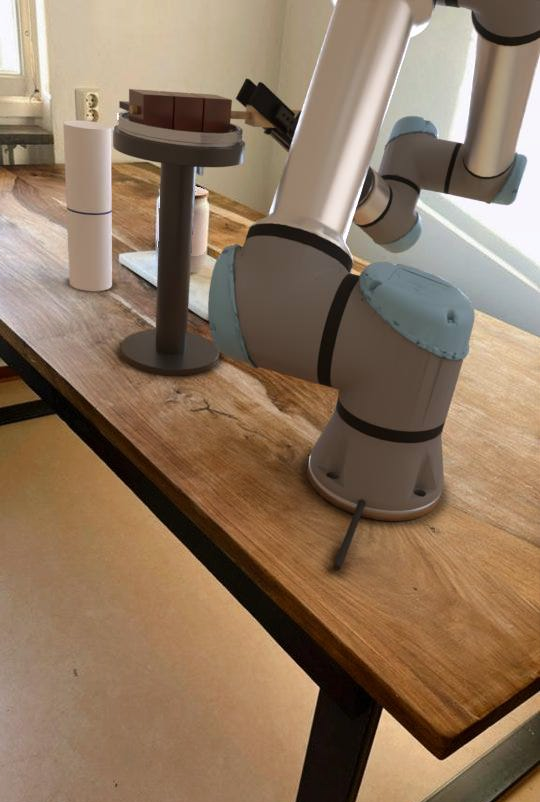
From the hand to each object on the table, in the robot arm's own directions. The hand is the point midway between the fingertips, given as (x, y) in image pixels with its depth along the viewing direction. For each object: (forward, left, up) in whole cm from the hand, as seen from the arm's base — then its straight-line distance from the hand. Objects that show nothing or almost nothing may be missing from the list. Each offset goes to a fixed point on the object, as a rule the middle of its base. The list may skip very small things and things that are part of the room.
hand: (249, 91), depth 86 cm
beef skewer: (-2, +2, -5) cm, 6 cm away
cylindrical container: (+15, +28, -34) cm, 47 cm away
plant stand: (-4, +9, -34) cm, 36 cm away
